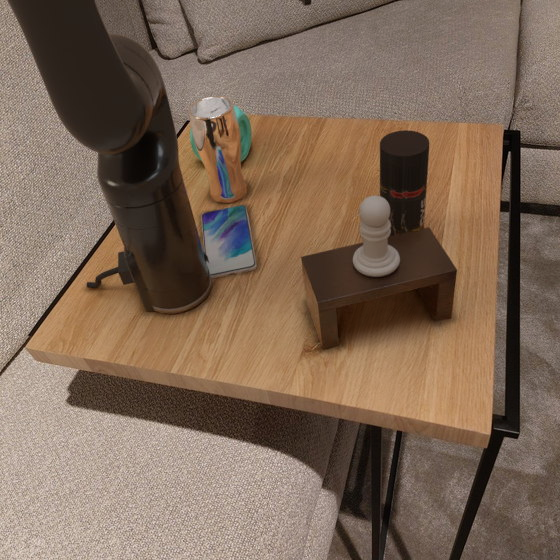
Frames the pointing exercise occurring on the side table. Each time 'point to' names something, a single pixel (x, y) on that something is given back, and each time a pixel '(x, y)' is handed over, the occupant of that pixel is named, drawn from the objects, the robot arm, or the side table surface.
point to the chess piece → (375, 239)
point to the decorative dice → (244, 134)
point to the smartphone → (228, 241)
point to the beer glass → (219, 146)
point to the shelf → (378, 280)
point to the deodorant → (404, 178)
